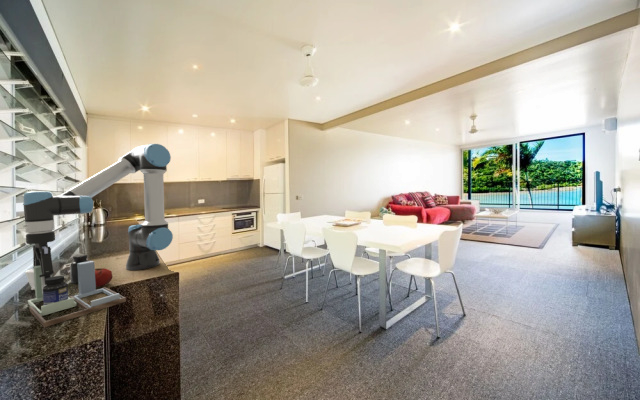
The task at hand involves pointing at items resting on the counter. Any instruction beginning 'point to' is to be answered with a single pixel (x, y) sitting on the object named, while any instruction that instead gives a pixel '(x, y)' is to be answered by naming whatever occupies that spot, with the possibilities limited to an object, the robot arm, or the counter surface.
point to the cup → (31, 278)
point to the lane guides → (76, 314)
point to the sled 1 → (39, 297)
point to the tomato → (102, 276)
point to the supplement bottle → (74, 266)
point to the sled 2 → (91, 285)
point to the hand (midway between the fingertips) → (44, 289)
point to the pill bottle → (55, 290)
